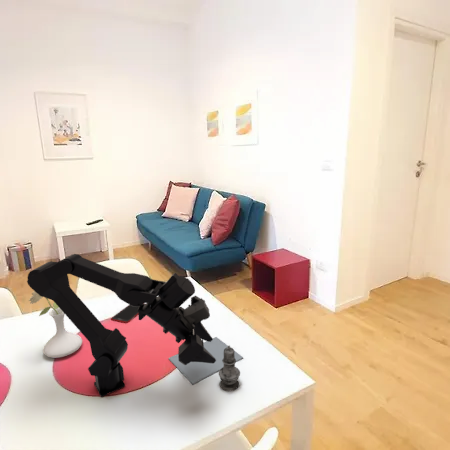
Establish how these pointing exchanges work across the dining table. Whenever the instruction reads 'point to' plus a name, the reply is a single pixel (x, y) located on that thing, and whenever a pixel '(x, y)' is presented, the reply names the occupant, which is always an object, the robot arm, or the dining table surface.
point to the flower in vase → (58, 333)
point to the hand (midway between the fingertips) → (213, 350)
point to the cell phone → (126, 314)
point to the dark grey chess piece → (229, 371)
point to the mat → (201, 369)
